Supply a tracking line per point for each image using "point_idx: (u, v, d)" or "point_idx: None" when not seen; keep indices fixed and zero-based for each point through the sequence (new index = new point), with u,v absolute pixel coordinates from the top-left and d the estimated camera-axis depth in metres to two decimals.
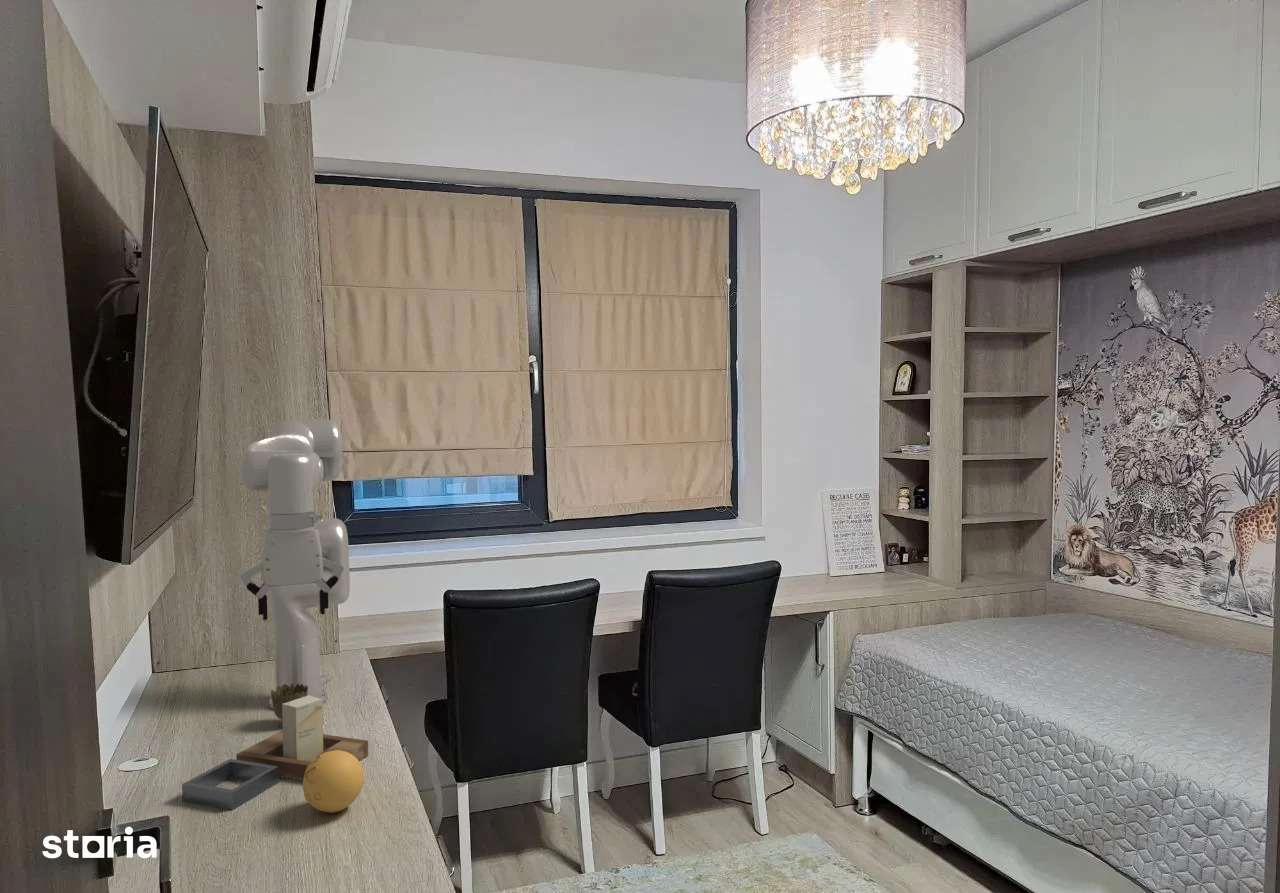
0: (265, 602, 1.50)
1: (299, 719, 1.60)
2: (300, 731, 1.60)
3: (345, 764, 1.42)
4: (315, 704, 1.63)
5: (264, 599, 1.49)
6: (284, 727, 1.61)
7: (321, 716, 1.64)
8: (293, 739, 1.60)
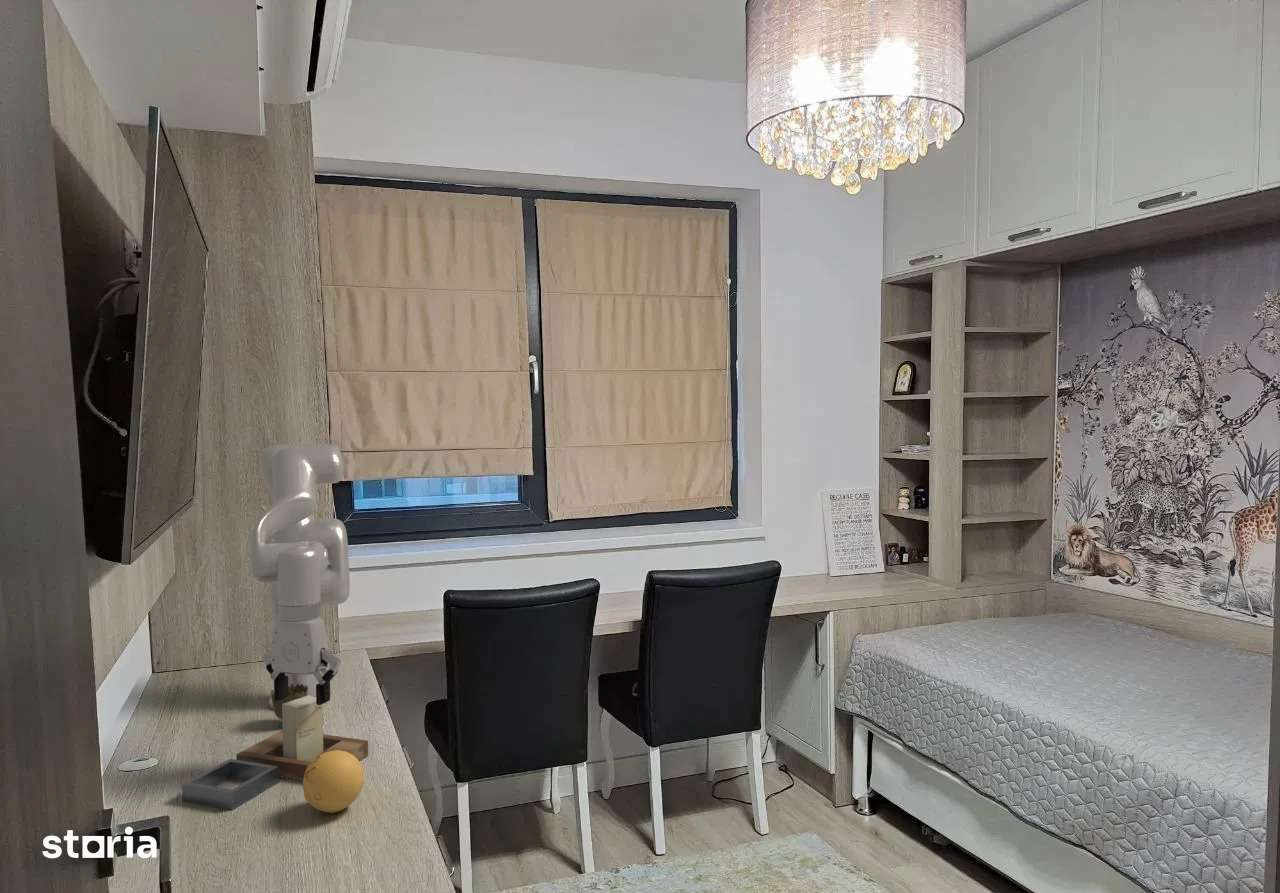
0: None
1: (299, 719, 1.60)
2: (300, 731, 1.60)
3: (345, 764, 1.42)
4: (315, 704, 1.63)
5: None
6: (284, 727, 1.61)
7: (321, 716, 1.64)
8: (293, 739, 1.60)
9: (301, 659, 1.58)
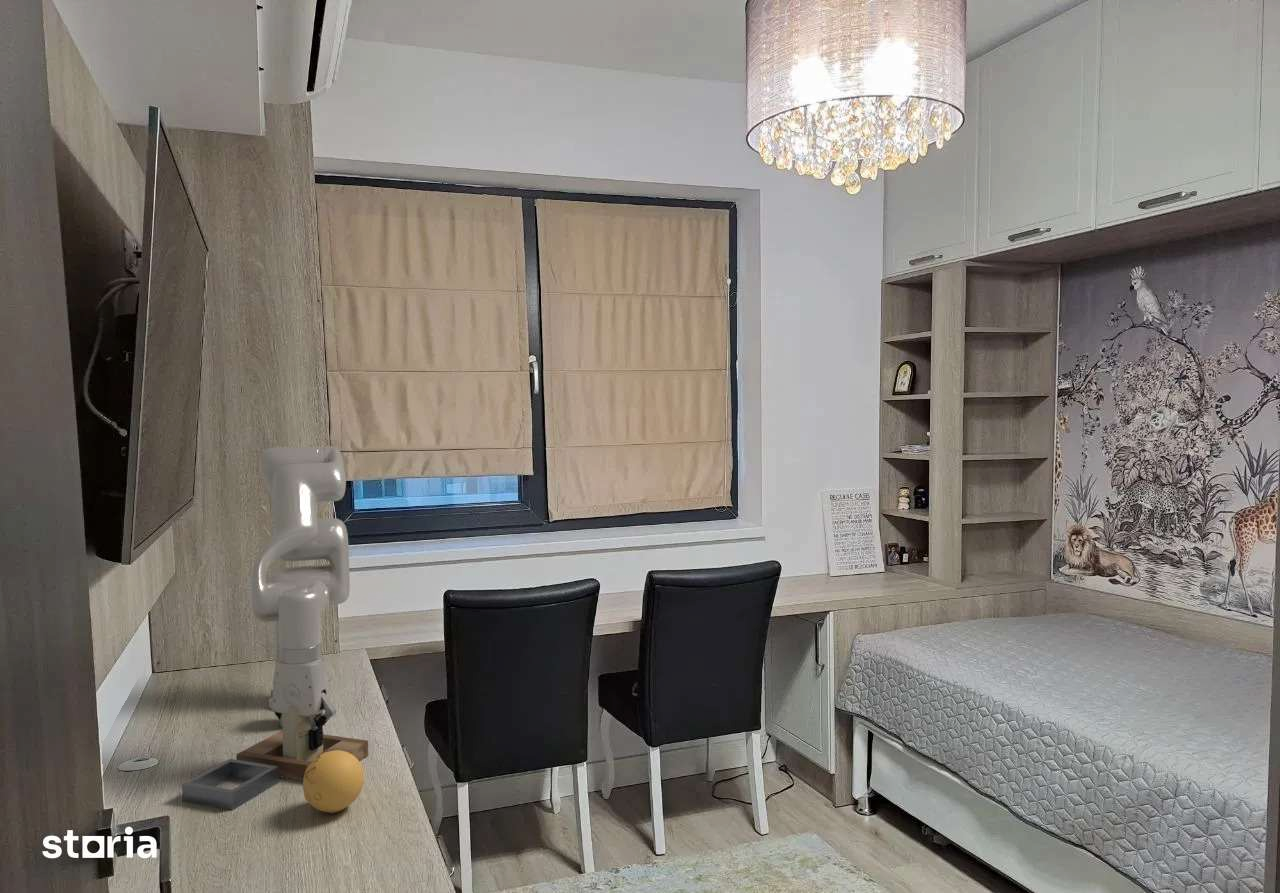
0: None
1: (299, 719, 1.60)
2: (300, 731, 1.60)
3: (346, 764, 1.42)
4: None
5: None
6: (284, 727, 1.61)
7: None
8: (293, 739, 1.60)
9: (302, 701, 1.59)
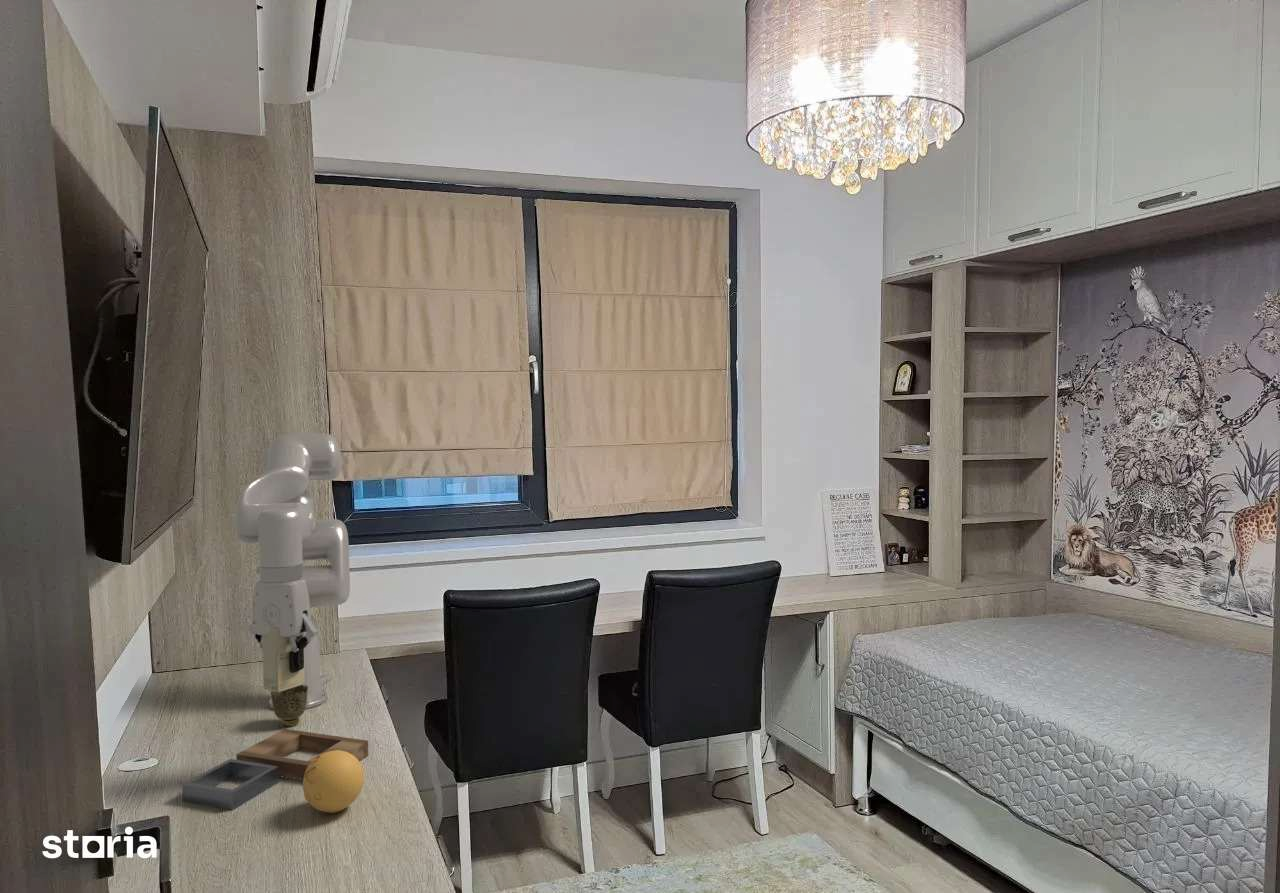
0: None
1: (281, 640, 1.56)
2: (282, 653, 1.56)
3: (346, 764, 1.42)
4: None
5: None
6: (264, 649, 1.57)
7: None
8: (274, 660, 1.56)
9: (283, 621, 1.55)
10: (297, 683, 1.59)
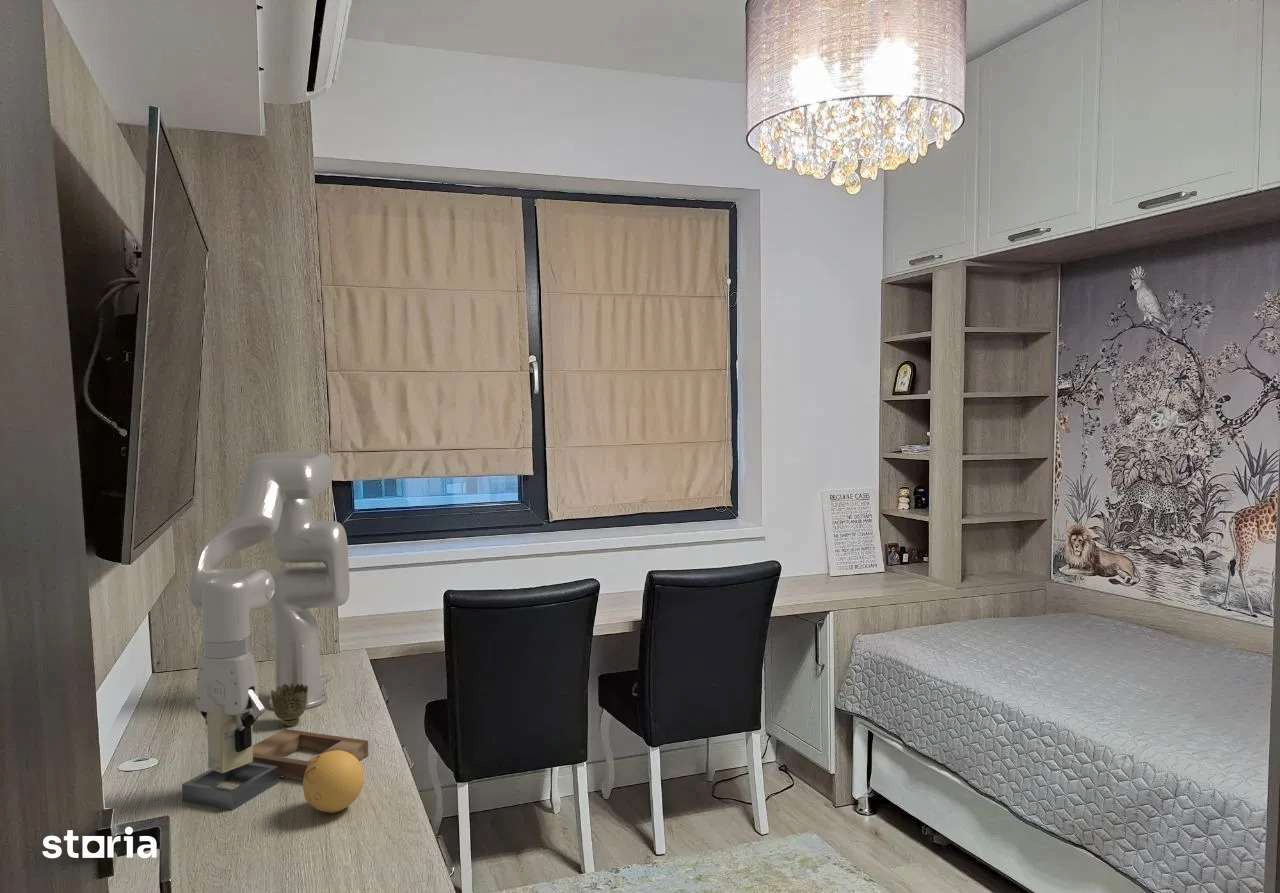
0: None
1: (226, 718, 1.48)
2: (227, 731, 1.48)
3: (346, 764, 1.42)
4: None
5: None
6: (209, 727, 1.49)
7: None
8: (218, 740, 1.47)
9: (227, 699, 1.47)
10: (244, 762, 1.51)
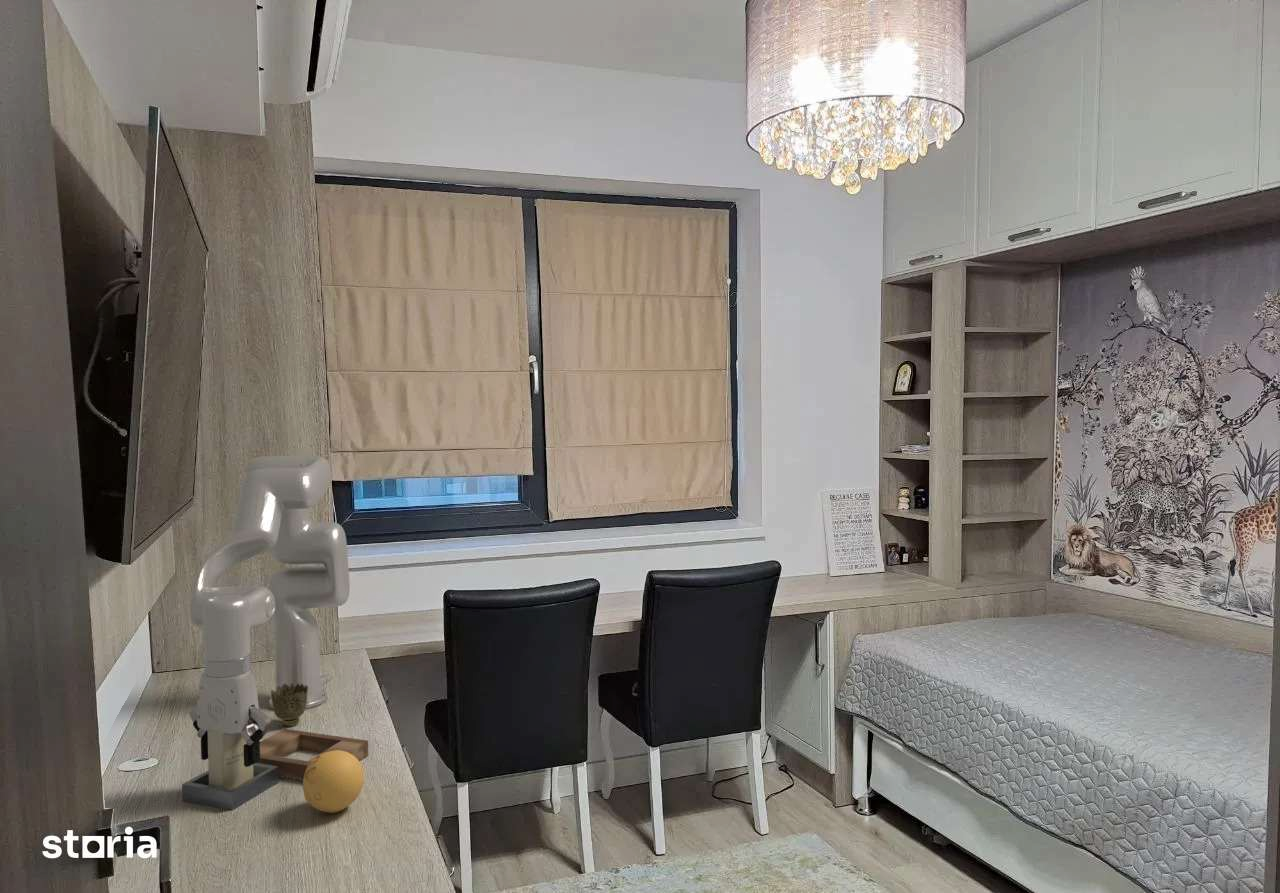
0: None
1: (227, 744, 1.48)
2: (228, 757, 1.48)
3: (346, 764, 1.42)
4: None
5: (258, 739, 1.51)
6: (210, 753, 1.49)
7: None
8: (220, 766, 1.48)
9: (228, 718, 1.47)
10: None
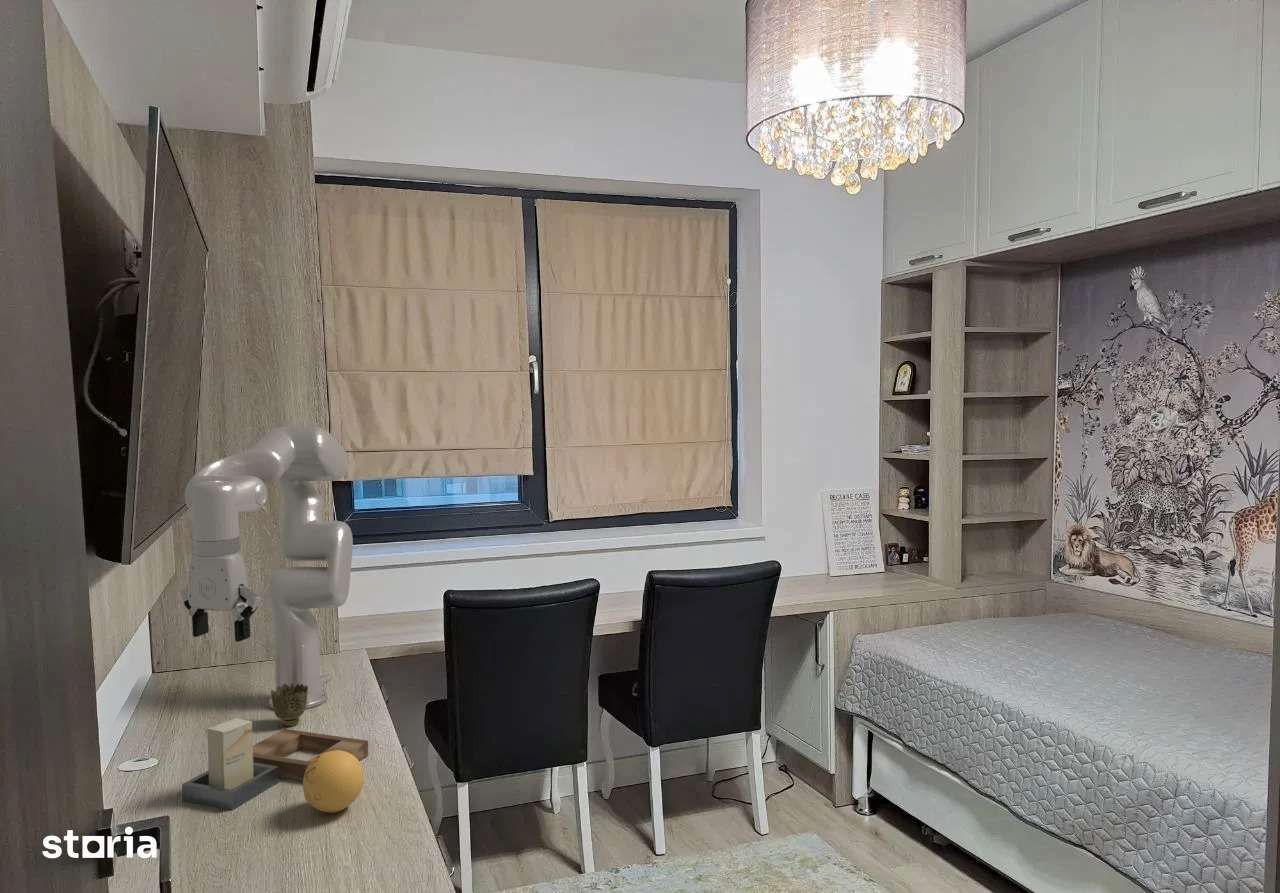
0: None
1: (227, 744, 1.48)
2: (228, 757, 1.48)
3: (345, 764, 1.42)
4: (245, 728, 1.51)
5: None
6: (210, 754, 1.49)
7: (251, 740, 1.52)
8: (220, 766, 1.48)
9: (218, 595, 1.54)
10: None
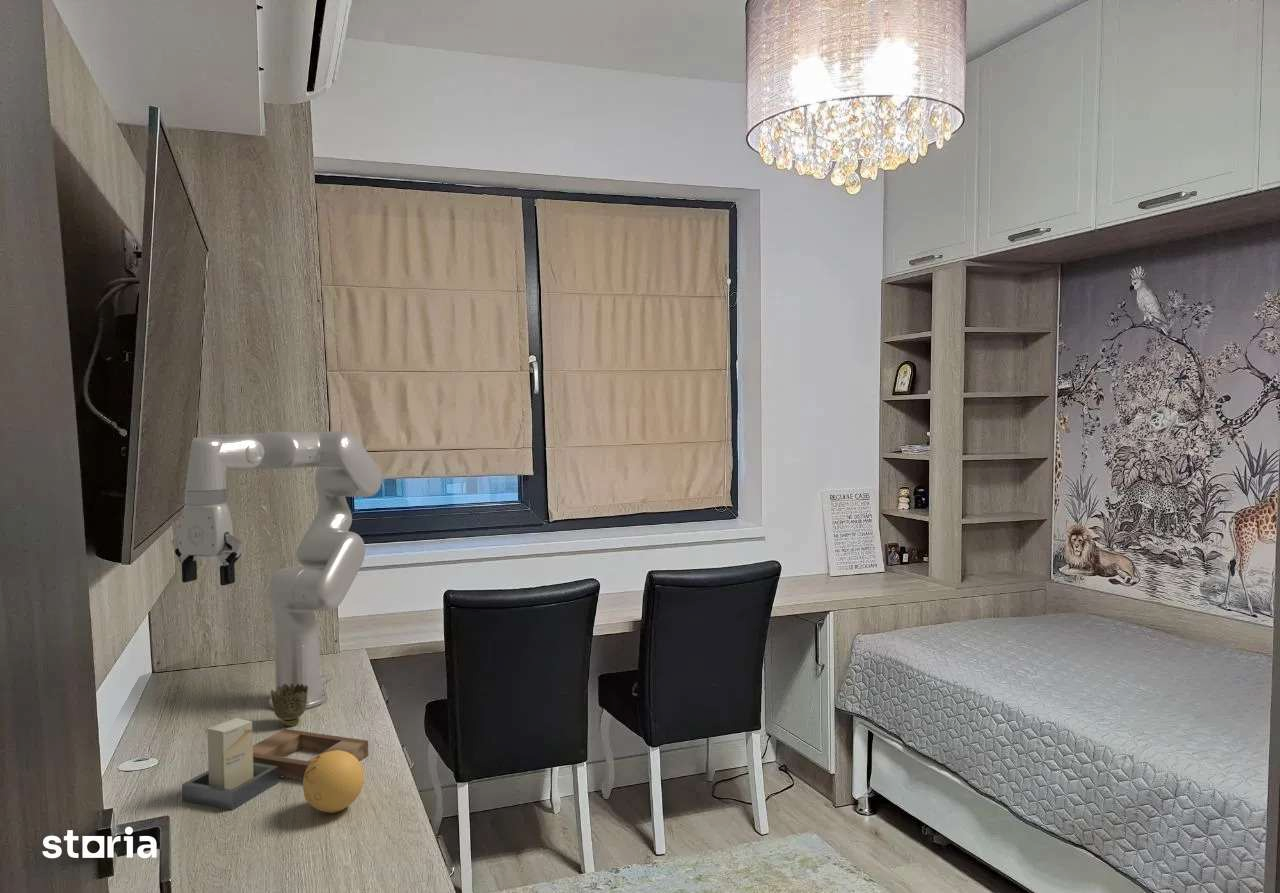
0: None
1: (227, 744, 1.48)
2: (228, 757, 1.48)
3: (345, 764, 1.42)
4: (245, 728, 1.51)
5: None
6: (210, 753, 1.49)
7: (251, 740, 1.52)
8: (220, 766, 1.48)
9: (205, 541, 1.67)
10: None
